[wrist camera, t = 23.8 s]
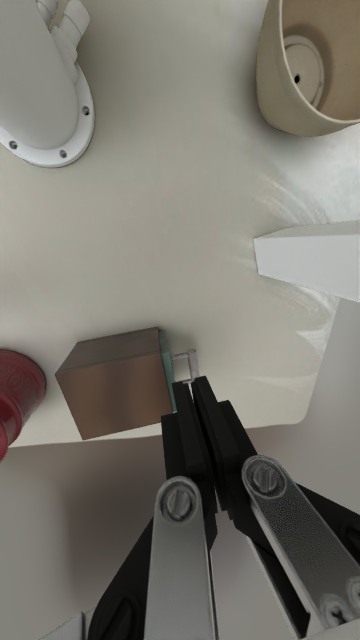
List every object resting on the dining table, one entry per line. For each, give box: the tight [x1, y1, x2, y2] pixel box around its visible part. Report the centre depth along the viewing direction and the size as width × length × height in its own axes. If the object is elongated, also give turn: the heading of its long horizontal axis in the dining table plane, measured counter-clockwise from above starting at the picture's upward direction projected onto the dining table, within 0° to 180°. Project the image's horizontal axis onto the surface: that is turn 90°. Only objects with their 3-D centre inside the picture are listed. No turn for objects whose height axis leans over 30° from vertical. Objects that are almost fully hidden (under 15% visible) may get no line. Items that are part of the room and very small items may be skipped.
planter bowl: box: [257, 0, 360, 137], centre depth 23 cm, size 16×16×11 cm
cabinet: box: [55, 327, 173, 440], centre depth 34 cm, size 14×12×10 cm
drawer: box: [158, 331, 199, 412], centre depth 34 cm, size 17×10×8 cm, turn 98°
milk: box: [253, 220, 360, 302], centre depth 25 cm, size 6×6×22 cm
